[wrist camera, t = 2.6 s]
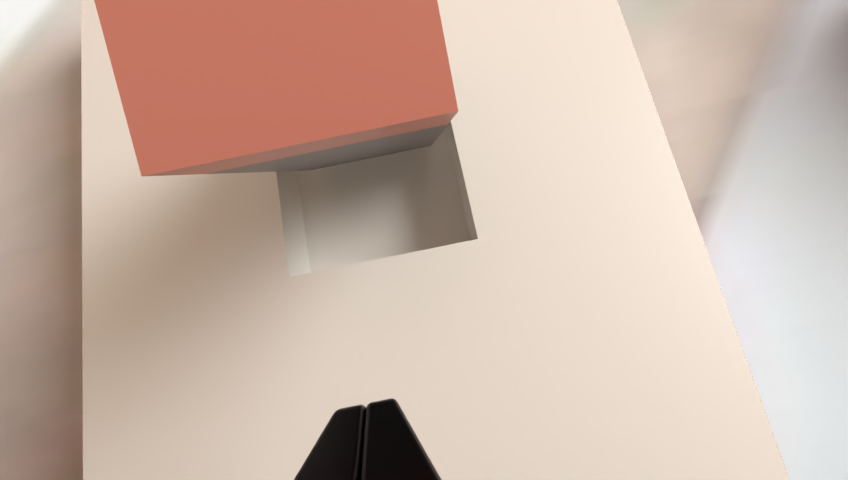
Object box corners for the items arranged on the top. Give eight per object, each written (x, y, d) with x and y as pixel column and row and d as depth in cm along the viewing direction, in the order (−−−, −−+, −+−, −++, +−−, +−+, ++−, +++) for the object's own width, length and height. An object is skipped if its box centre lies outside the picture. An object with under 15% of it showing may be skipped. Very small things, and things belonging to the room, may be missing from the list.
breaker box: (720, 487, 16) (801, 510, 12) (173, 595, 16) (83, 652, 12) (544, -57, 22) (561, -155, 18) (146, 26, 22) (80, -55, 18)
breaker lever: (431, 146, 17) (458, 111, 7) (311, 170, 17) (141, 177, 7) (415, 67, 17) (416, -105, 6) (294, 92, 17) (84, -35, 6)
